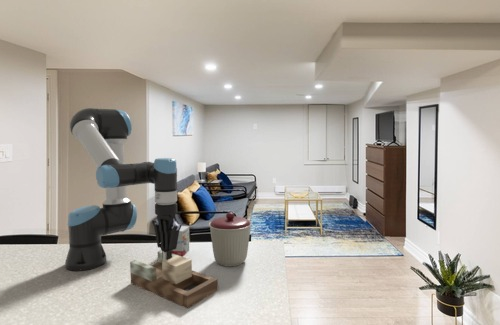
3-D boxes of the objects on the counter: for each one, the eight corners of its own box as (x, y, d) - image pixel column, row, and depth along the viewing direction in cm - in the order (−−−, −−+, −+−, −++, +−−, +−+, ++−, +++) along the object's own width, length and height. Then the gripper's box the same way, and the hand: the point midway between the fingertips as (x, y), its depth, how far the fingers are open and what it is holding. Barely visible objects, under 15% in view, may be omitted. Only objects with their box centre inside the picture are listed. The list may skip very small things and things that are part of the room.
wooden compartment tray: (130, 283, 112) (130, 261, 111) (162, 269, 123) (161, 250, 123) (187, 308, 95) (186, 283, 95) (217, 290, 107) (217, 267, 106)
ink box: (182, 257, 137) (181, 230, 136) (164, 255, 138) (163, 229, 137) (190, 250, 145) (189, 225, 144) (173, 249, 147) (172, 224, 146)
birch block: (162, 278, 107) (162, 261, 106) (178, 271, 113) (177, 255, 112) (176, 284, 103) (175, 266, 102) (191, 276, 109) (191, 259, 108)
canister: (255, 255, 139) (255, 208, 137) (246, 272, 121) (246, 219, 119) (216, 252, 142) (216, 206, 141) (202, 268, 125) (201, 216, 123)
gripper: (145, 202, 109) (146, 267, 111) (169, 206, 102) (170, 276, 104) (162, 198, 115) (163, 260, 117) (186, 203, 108) (187, 268, 110)
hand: (167, 268), depth 111 cm, fingers closed
